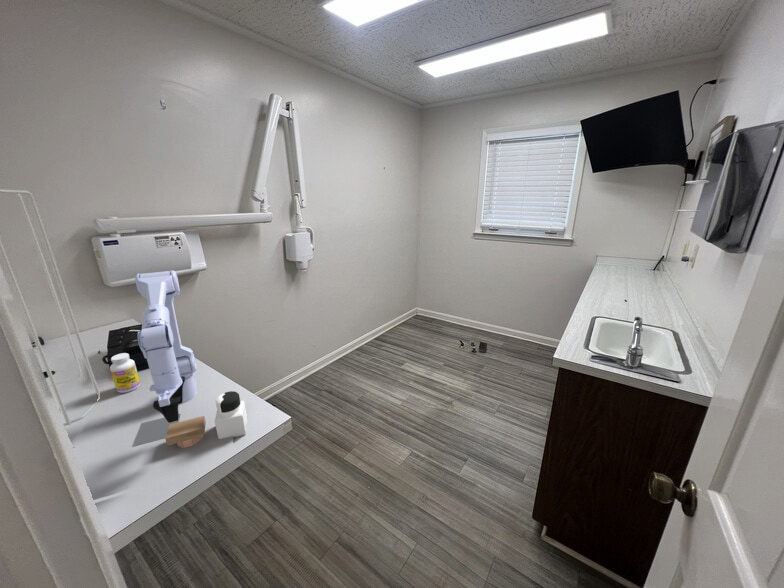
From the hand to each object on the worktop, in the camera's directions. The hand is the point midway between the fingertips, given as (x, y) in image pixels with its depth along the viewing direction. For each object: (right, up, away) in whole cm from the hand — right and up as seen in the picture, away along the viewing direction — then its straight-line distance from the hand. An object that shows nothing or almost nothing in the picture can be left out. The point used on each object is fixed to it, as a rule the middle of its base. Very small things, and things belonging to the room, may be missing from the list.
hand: (175, 411), depth 85 cm
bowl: (+2, -9, +3) cm, 10 cm away
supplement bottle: (-35, -1, +26) cm, 43 cm away
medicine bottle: (+12, -8, +7) cm, 16 cm away
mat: (-10, -8, +6) cm, 14 cm away
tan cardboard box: (+2, -7, +2) cm, 7 cm away
